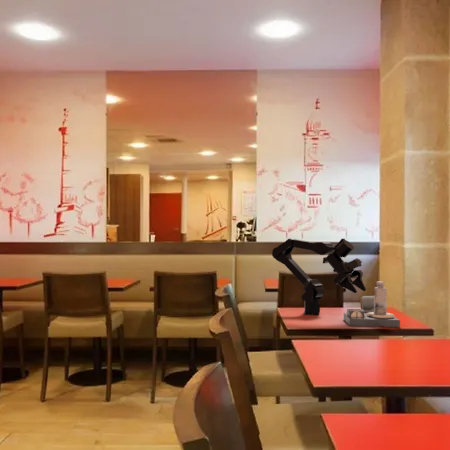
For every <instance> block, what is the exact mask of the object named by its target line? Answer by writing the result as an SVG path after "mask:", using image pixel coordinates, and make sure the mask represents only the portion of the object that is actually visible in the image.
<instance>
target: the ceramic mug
mask: <svg viewBox="0 0 450 450" xmlns="http://www.w3.org/2000/svg"><path fill="white" fill-rule="evenodd" d="M359 303H360V309H362V310H363V311H364V313H365V312H366V313H369V312H374V295H363V296H361V297H360V302H359Z"/></svg>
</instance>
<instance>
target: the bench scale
mask: <svg viewBox="0 0 450 450" xmlns="http://www.w3.org/2000/svg"><path fill="white" fill-rule="evenodd" d="M344 320H345V321H346V322H345V321H344ZM343 321H344V322H345V323H346V324H347V325H348V326H349V327H362V326H363V327H365V328H366V327H369V328H371V327H372V328H373V327H374V328H379V327H378V326H385V327H384V328H396V327H400V328H401V320H400V319H399V318H397V317H396V316H395V314H394V313H390V312H387V313H386V315H376V314H374V312H369V313H365V312H364V311H363V310H362V309H361V308H347V309H346V312H343ZM376 326H377V327H376Z"/></svg>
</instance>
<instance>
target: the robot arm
mask: <svg viewBox="0 0 450 450" xmlns="http://www.w3.org/2000/svg"><path fill="white" fill-rule="evenodd" d="M294 248H296V249H302V250H308V251H311V252H313V253H315V254H317V255H320V256H325V257H323V259H322V265H323V264H324V265H325V264H329V266H330V267H331V268H332V269H333V270H332V272H333V273H337V274H336V275H335V276H334V277H333V283H334V285H338V286H340V287H342V288H344V289H346V290H347V291H350V292H352V293H354V294H356V293H358V291H357V288H358V289H360V290H361V291H362V292H366V291H367V289H366V286H365V283H364V281H363V278H362V277H363V275H364V272H363V271H362V270H361V269H356V268H361V267H362V265H363V264H362V260H361V259H359V258H355V259H354V258H353V259H352V260H351V261H344V260H343V258H347V256H349V254H350V253H351V252H352V251H353V250H354V249H355V247H354V245H353V243H351V242H349V240H346V238H341V239H340V240H339V241H338V243H336V245H334V244H332V242H330V241H329V242H328V241H326V242H317V241H316V242H315V241H314V242H313V241H309V240H302V239H296V238H288V239H286V240H285V241H284V242H282V243H280V244H279V245H278V246H276V247H274V248H273V249H272V252H271V256H272V258H273V259H275V260H276V261H277V262H278V263H281V264H283V265H284V266H285V267H286V268H287V269H288V270H289V272H291V273H292V274H293V276H294V277H295V278H296V279H297V280H298V282H299V283H300V284H302V287H303V291H304V293H303V294H302V295H301V300H302V301H304V311H303V313H304V314H305V315H316V316H317V315H320V313H321V304H320V302H319V301H321V300H322V297H323V295H324V293H325V288H324V284H322V283H321V282H320V281H319V280H318V278H316V279H315V278H314V279H312V278H311V277H310V276H309V275H308V274H307V273H306V272H305V270H303V269H302V267H300V265H299V264H298V263H297V262H296V261H295V260H294V259H293V256H292V252H293V251H294ZM356 287H357V288H356Z"/></svg>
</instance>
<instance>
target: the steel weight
mask: <svg viewBox="0 0 450 450" xmlns="http://www.w3.org/2000/svg"><path fill="white" fill-rule="evenodd" d="M385 283H386V282H385V281H376V286H375V287H374V289H373V290H374V295H373V296H374V314H376V315H386V313H388V312H387V307H388V306H387V303H388V302H387V301H388V300H387V298H388V297H387V296H388V294H387V293H388V287H385Z"/></svg>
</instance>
